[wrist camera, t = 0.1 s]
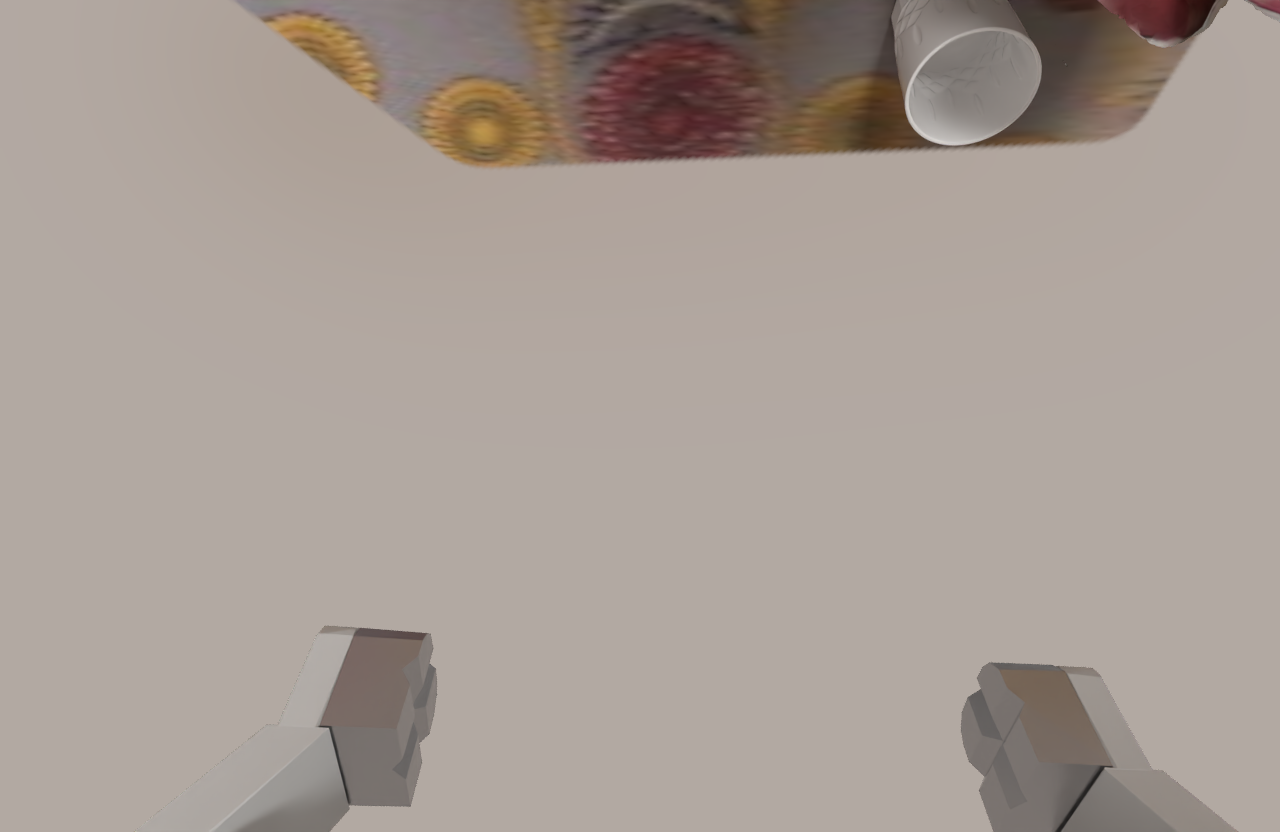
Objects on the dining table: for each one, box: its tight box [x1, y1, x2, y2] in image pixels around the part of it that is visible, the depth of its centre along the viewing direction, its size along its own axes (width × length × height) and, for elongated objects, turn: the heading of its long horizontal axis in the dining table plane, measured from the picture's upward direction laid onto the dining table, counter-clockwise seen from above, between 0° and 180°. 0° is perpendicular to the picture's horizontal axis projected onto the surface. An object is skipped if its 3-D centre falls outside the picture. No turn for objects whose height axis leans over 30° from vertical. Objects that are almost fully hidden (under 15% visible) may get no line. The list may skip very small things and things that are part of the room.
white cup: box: [891, 0, 1042, 146], centre depth 52 cm, size 8×8×10 cm
